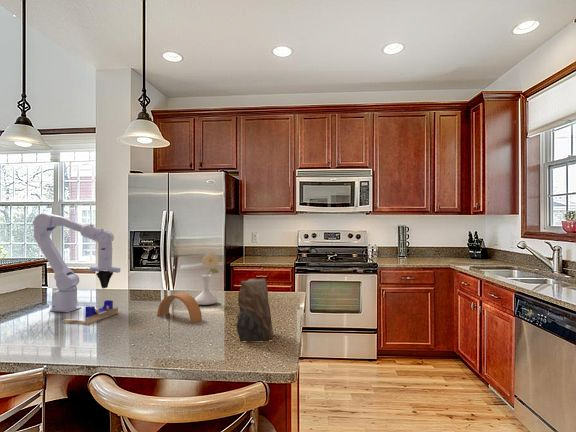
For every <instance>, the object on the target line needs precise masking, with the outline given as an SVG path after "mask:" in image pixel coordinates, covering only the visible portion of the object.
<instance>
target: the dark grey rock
mask: <svg viewBox="0 0 576 432" xmlns="http://www.w3.org/2000/svg"><path fill="white" fill-rule="evenodd" d="M240 285H241V286H240V288H239V291H238V297H237V303H238V304H237V305H238V308H239V312H238V314H237V315H236V318H237V320H236V321H237V322H236V329H237V335H238V337H239V342H240V341H269V340H273V341H274V330H273V324H272V323H273V322H272V316H271V315H272V314H271V309H270V303H269V289H268V283H267V279H266V278H265V277H263V278H255V277H253V278H249V279H248V280H241V281H240Z"/></svg>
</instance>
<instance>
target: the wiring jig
mask: <svg viewBox="0 0 576 432" xmlns="http://www.w3.org/2000/svg"><path fill="white" fill-rule="evenodd" d="M98 310H99V308H95V311H96V315H93V316H90V317H87V318H84V319H85V320H84V319H83V320H82V319H69V318H63V321H62V322H64V323H66V324H74V325H75V324H76V325H90V324H92V323H95V322H98V321H101V320H103V319H105V318H106V319H107V318H109V317H111V316H114V315H116V314H119V307H113V309H110V310H109V306H107V311H104V312H101V313H99V314H98Z"/></svg>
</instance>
